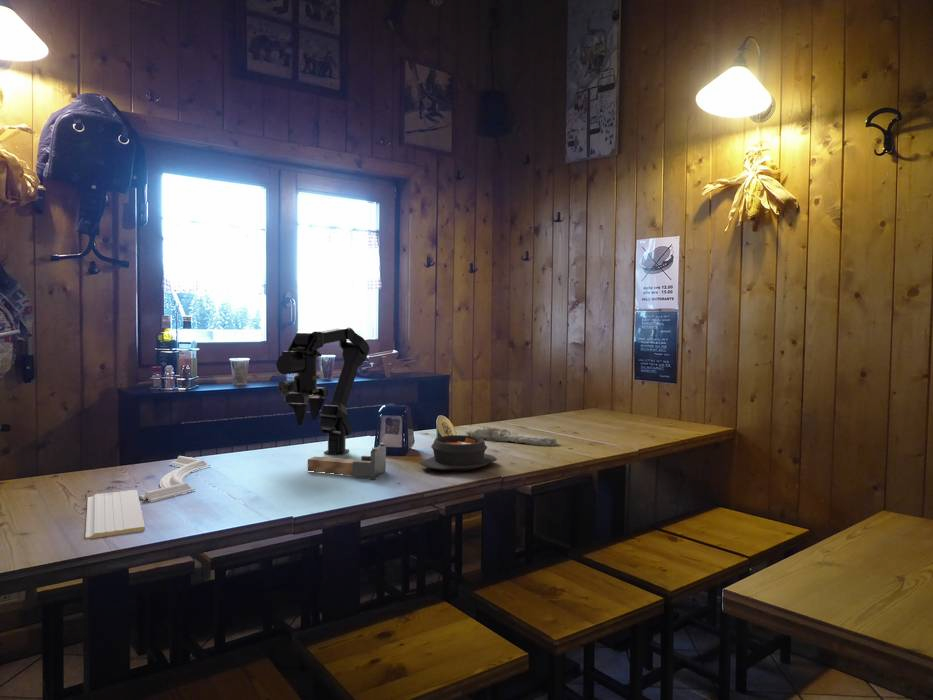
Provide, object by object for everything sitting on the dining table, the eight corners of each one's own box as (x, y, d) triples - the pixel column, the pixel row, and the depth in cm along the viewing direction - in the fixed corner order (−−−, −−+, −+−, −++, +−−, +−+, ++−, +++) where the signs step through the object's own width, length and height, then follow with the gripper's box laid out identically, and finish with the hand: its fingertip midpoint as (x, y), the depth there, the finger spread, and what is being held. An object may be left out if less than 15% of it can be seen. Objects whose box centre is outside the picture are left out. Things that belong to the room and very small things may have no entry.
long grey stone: (551, 452, 220) (558, 448, 229) (552, 437, 220) (560, 434, 229) (460, 437, 234) (471, 434, 243) (462, 423, 234) (472, 421, 243)
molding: (171, 464, 189) (171, 455, 189) (214, 462, 192) (214, 453, 192) (133, 506, 148) (133, 494, 148) (189, 502, 151) (189, 490, 151)
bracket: (363, 470, 183) (363, 440, 183) (386, 471, 182) (386, 442, 182) (351, 478, 174) (351, 447, 173) (374, 480, 172) (375, 449, 172)
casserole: (471, 456, 205) (472, 430, 204) (510, 467, 190) (510, 440, 190) (407, 466, 189) (407, 439, 189) (443, 479, 174) (444, 449, 174)
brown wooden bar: (307, 473, 180) (307, 459, 180) (314, 469, 184) (314, 456, 184) (365, 478, 175) (365, 464, 175) (371, 475, 179) (371, 461, 179)
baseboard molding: (76, 543, 123) (145, 533, 130) (76, 528, 123) (144, 519, 129) (80, 501, 150) (137, 495, 156) (80, 489, 150) (137, 484, 156)
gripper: (296, 368, 202) (296, 416, 203) (267, 373, 184) (267, 426, 185) (328, 370, 200) (328, 418, 201) (303, 375, 182) (303, 428, 183)
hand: (307, 422), depth 192 cm, fingers open, 9 cm apart
